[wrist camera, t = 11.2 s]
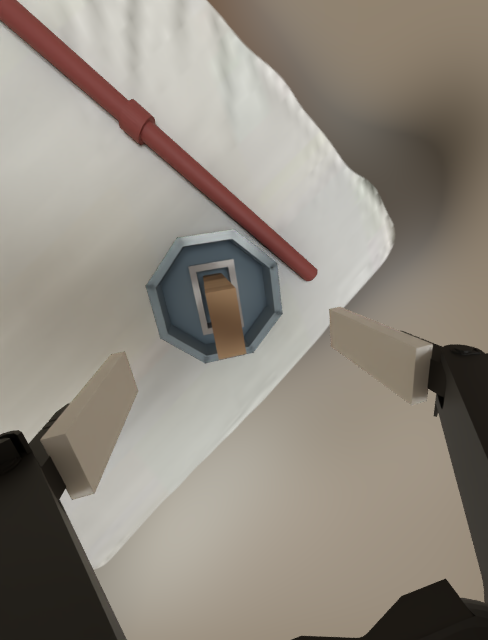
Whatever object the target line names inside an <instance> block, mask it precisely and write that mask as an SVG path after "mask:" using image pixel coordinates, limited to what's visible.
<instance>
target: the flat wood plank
mask: <svg viewBox="0 0 488 640" xmlns="http://www.w3.org/2000/svg"><path fill="white" fill-rule="evenodd" d="M203 281H204V288H205V295H206V300H207V305H208V310H209V314H210V319H211V324H212V329H213V334H214V339H215V343H216V348H217V353H218V358H219V360H220V359H225V358H229V357H234V356H238V355H243V354H246V348H245V342H244V336H243V330H242V324H241V318H240V312H239V306H238V300H237V293H236V288H235V287H234V286H233V285H232V284H231V283H230V282H229V281H228V280H227V278H226V277H225V276H224V275H223V274H222V273H216V274H210V275H205V276H203Z"/></svg>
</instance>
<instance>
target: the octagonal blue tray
mask: <svg viewBox="0 0 488 640" xmlns="http://www.w3.org/2000/svg"><path fill="white" fill-rule="evenodd" d="M216 273H222V274H223V275H224V276H225V277H226V278H227V280H228V281H229V282H230V283H231V284H232V285H233V286H234V287H235V288H236V293H237V300H238V306H239V312H240V318H241V324H242V330H243V336H244V342H245V348H246V354H249V353H254V351H255V350H256V348H257V347H258V346H259V344H260V343H261V342H262V340H263V339H264V338H265V336H266V335H267V334H268V332H269V331H270V330H271V328H272V327H273V326H274V324H275V323H276V321H277V320H278V319H279V317H280V316H281V315H282V305H281V296H280V286H279V277H278V268H277V263H276V262H275V261H274V260H272V259H271V258H270V257H269V256H267V255H266V254H265V253H264V252H262V251H261V250H260V249H259V248H257V247H256V246H255V245H253V244H252V243H251V242H250V241H248V240H247V239H246V238H245V237H243V236H242V235H241V234H240V233H238V232H237V231H236V230H235V229H232V230H225V231H219V232H212V233H206V234H199V235H192V236H186V237H179V238H178V237H177V238H176V240H175V242H174V243H173V245H172V246H171V248H170V249H169V251H168V252H167V254H166V256H165V257H164V259H163V260H162V262H161V263H160V265H159V266H158V268H157V270H156V271H155V273H154V274H153V276H152V277H151V279H150V280H149V282H148V284H147V285H146V289H147V292H148V296H149V299H150V303H151V306H152V310H153V313H154V317H155V321H156V324H157V328H158V331H159V335H160V338H161V339H163V340H164V341H166V342H168V343H170V344H172V345H173V346H175V347H177V348H179V349H181V350H182V351H184V352H186V353H188V354H190V355H191V356H193V357H195V358H197V359H199V360H200V361H202V362H204V363H209V362H213V361H218V360H219V358H218V353H217V348H216V343H215V339H214V334H213V329H212V324H211V319H210V314H209V310H208V305H207V300H206V295H205V288H204V281H203V276H205V275H210V274H216ZM243 355H245V354H243ZM238 356H240V355H238ZM234 357H236V356H234ZM229 358H231V357H229ZM225 359H227V358H225ZM220 360H222V359H220Z"/></svg>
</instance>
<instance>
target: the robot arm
mask: <svg viewBox="0 0 488 640" xmlns="http://www.w3.org/2000/svg"><path fill="white" fill-rule="evenodd" d="M329 313H330V338H331V347H332V348H334V349H335V350H336V351H338V352H339V353H340V354H342V355H343V356H345V357H346V358H347V359H349V360H350V361H352V362H353V363H354V364H356V365H357V366H358V367H360V368H361V369H363V370H364V371H365V372H367V373H368V374H369V375H371V376H372V377H374V378H375V379H376V380H378V381H379V382H380V383H382V384H383V385H384V386H386V387H387V388H389V389H390V390H391V391H393V392H394V393H395V394H397V395H398V396H400V397H401V398H402V399H404V400H405V401H406V402H408V403H409V404H411V405H414V404H418V403H421V402H424V401H427V394H428V389H430V390H431V391H433V392H435V393H436V401H435V410H434V416H436V417H437V414H438V413H439V416H440V420H441V424H442V428H443V431H444V435H445V439H446V443H447V446H448V451H449V454H450V458H451V462H452V466H453V469H454V473H455V477H456V481H457V484H458V488H459V492H460V496H461V499H462V503H463V507H464V511H465V514H466V518H467V522H468V525H469V530H470V533H471V537H472V541H473V545H474V548H475V552H476V556H477V559H478V563H479V567H480V571H481V574H482V580H483V586H484V601H485V603H484V602H480V601H477V600H471V599H466V598H460V597H459V596H458V594H457V593H456V592H455V590H454V589H453V588H452V586H451V585H450V584H449V582H448V581H447V580H446V579H444V580H441V581H439V582H436V583H434V584H431V585H428V586H426V587H423V588H421V589H418V590H416V591H413V592H411V593H408V594H406V595H403V596H401V597H400V598H399V600H398V601H397V602H396V603H395V604H394V605H393V606H392V607H391V608H390V609H389V610H388V611H387V613H386V614H385V615H384V616H383V617H382V618H381V619H380V620H379V621H378V622H377V623H376V624H375V626H374V627H373V628H372V629H371V630H370V631H369V632H368V633H367V634H366V635H365V636H363V637H360V638H342V637H341V638H340V637H316V636H300V637H297V638H295V639H292V640H488V353H487V354H485V353H484V352H482V351H481V350H479V349H477V348H474V347H470V346H466V345H446V346H444V347H442V346H439V345H436V344H434V343H431V342H429V341H426V340H424V339H420V338H419V337H416V336H412V335H411V334H409V333H406V332H404V331H399V330H396V329H394V328H391V327H389V326H386V325H384V324H381V323H379V322H376V321H374V320H371V319H369V318H366V317H364V316H361V315H359V314H356V313H354V312H351V311H349V310H346V309H344V308H341V307H337V308H332V309H329ZM137 392H138V389H137V386H136V383H135V380H134V377H133V374H132V371H131V368H130V365H129V362H128V359H127V357H126V354H125V352H120V353H115V354H111V355H110V356H109V358H108V359H107V360H106V361H105V362H104V364H103V365H102V366H101V367H100V368H99V370H98V371H97V372H96V373H95V374H94V376H93V377H92V378H91V379H90V380H89V382H88V383H87V384H86V385H85V386H84V388H83V389H82V390H81V391H80V392H79V394H78V395H77V396H76V397H75V398H74V400H73V401H72V402H71V403H69V404H67V405H65V406H64V407H63V408H61V409H60V410H59V411H57V412H56V413H55V414H54V415H53V417H52V418H51V419H50V420H49V422H48V423H46V425H45V426H44V427H43V428H42V430H40V431H39V433H38V434H37V435H36V436H35V437H34V438H33V439H32V441H31V442H30V443H29V444H28V442H27V441H26V439H25V437H24V435H23V433H22V432H20V431H19V430H17V431H10V432H6V433H3V434H0V640H127V639H126V637H125V635H124V633H123V631H122V629H121V627H120V625H119V623H118V621H117V619H116V617H115V614H114V612H113V610H112V608H111V606H110V604H109V602H108V600H107V598H106V595H105V593H104V591H103V589H102V587H101V585H100V583H99V581H98V579H97V577H96V574H95V572H94V570H93V568H92V566H91V564H90V562H89V560H88V558H87V556H86V553H85V551H84V549H83V547H82V545H81V543H80V541H79V539H78V537H77V535H76V532H75V530H74V528H73V526H72V524H71V522H70V520H69V518H68V516H67V514H66V512H65V509H64V507H63V505H62V504H61V502H60V500H59V499H60V497H61V495H62V494H63V492H64V490H65V488H66V490H67V492H68V493H69V495H70V497H71V499H72V500H73V499H77V498H80V497H84V496H88V495H91V494H94V493H95V491H96V489H97V486H98V484H99V482H100V479H101V477H102V475H103V472H104V470H105V468H106V465H107V463H108V460H109V458H110V456H111V453H112V451H113V449H114V446H115V444H116V442H117V439H118V437H119V435H120V432H121V430H122V428H123V425H124V423H125V421H126V418H127V416H128V414H129V411H130V409H131V406H132V404H133V402H134V399H135V397H136V395H137Z"/></svg>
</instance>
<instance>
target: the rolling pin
mask: <svg viewBox="0 0 488 640" xmlns="http://www.w3.org/2000/svg"><path fill="white" fill-rule="evenodd" d="M0 20H1V21H2V22H3V23H5V24H6V25H7V26H8V27H9V28H10V29H12V30H13V31H14V32H15V33H16V34H17V35H19V36H20V37H21V38H22V39H23V40H24V41H26V42H27V43H28V44H29V45H30V46H32V47H33V48H34V49H35V50H36V51H37V52H39V53H40V54H41V55H42V56H43V57H44V58H46V59H47V60H48V61H49V62H50V63H51V64H53V65H54V66H55V67H56V68H57V69H58V70H60V71H61V72H62V73H63V74H64V75H65V76H67V77H68V78H69V79H70V80H71V81H73V82H74V83H75V84H76V85H77V86H78V87H80V88H81V89H82V90H83V91H84V92H85V93H87V94H88V95H89V96H90V97H91V98H92V99H94V100H95V101H96V102H97V103H98V104H99V105H101V106H102V107H103V108H104V109H105V110H106V111H108V112H109V113H110V114H111V115H112V116H113V117H115V118H116V119H117V120H118V121H119V125H120V128H121V129H122V130H123V131H125V132H126V133H127V134H128V135H129V136H130V137H132V138H133V139H134V140H135V141H136V142H138V143H139V144H140V145H143V144H144V143H145V144H146V145H147V146H149V147H150V148H151V149H152V150H153V151H154V152H156V153H157V154H158V155H159V156H160V157H161V158H163V159H164V160H165V161H166V162H167V163H169V164H170V165H171V166H172V167H173V168H174V169H176V170H177V171H178V172H179V173H180V174H181V175H183V176H184V177H185V178H186V179H187V180H188V181H190V182H191V183H192V184H193V185H194V186H195V187H197V188H198V189H199V190H200V191H201V192H202V193H204V194H205V195H206V196H207V197H208V198H209V199H211V200H212V201H213V202H214V203H215V204H216V205H218V206H219V207H220V208H221V209H222V210H224V211H225V212H226V213H227V214H228V215H229V216H231V217H232V218H233V219H234V220H235V221H236V222H238V223H239V224H240V225H241V226H242V227H243V228H245V229H246V230H247V231H248V232H249V233H250V234H252V235H253V236H254V237H255V238H256V239H257V240H259V241H260V242H261V243H262V244H263V245H264V246H266V247H267V248H268V249H269V250H270V251H272V252H273V253H274V254H275V255H276V256H277V257H279V258H280V259H281V260H282V261H283V262H284V263H286V264H287V265H288V266H289V267H290V268H291V269H293V270H294V271H295V272H296V273H297V274H298V275H300V276H301V277H302V278H303V279H304V280H305V281H311V280H313V279H314V278H315V276H316V275H317V269H316V268H315V267H314V266H313V265H312V264H311V263H309V262H308V261H307V260H306V259H305V258H304V257H303V256H302V255H301V254H299V253H298V252H297V251H296V250H295V249H294V248H293V247H292V246H290V245H289V244H288V243H287V242H286V241H285V240H284V239H283V238H282V237H280V236H279V235H278V234H277V233H276V232H275V231H274V230H273V229H271V228H270V227H269V226H268V225H267V224H266V223H265V222H264V221H263V220H261V219H260V218H259V217H258V216H257V215H256V214H255V213H254V212H252V211H251V210H250V209H249V208H248V207H247V206H246V205H245V204H244V203H242V202H241V201H240V200H239V199H238V198H237V197H236V196H235V195H233V194H232V193H231V192H230V191H229V190H228V189H227V188H226V187H225V186H223V185H222V184H221V183H220V182H219V181H218V180H217V179H216V178H214V177H213V176H212V175H211V174H210V173H209V172H208V171H207V170H206V169H204V168H203V167H202V166H201V165H200V164H199V163H198V162H197V161H195V160H194V159H193V158H192V157H191V156H190V155H189V154H188V153H187V152H185V151H184V150H183V149H182V148H181V147H180V146H179V145H178V144H176V143H175V142H174V141H173V140H172V139H171V138H170V137H169V136H168V135H166V134H165V133H164V132H163V131H162V130H161V129H160V128H159V127H157V126H156V125H155V119H154V117H153V116H152V115H151V114H150V113H148V112H147V111H146V110H145V109H144V108H143V107H142V106H141V105H140V104H138V103H137V102H136V101H135V100H134V99H131V100H129V101H128V100H127V99H126V98H125V97H124V96H123V95H122V94H121V93H119V92H118V91H117V90H116V89H115V88H114V87H113V86H112V85H111V84H109V83H108V82H107V81H106V80H105V79H104V78H103V77H102V76H100V75H99V74H98V73H97V72H96V71H95V70H94V69H93V68H92V67H90V66H89V65H88V64H87V63H86V62H85V61H84V60H83V59H81V58H80V57H79V56H78V55H77V54H76V53H75V52H74V51H73V50H71V49H70V48H69V47H68V46H67V45H66V44H65V43H64V42H62V41H61V40H60V39H59V38H58V37H57V36H56V35H55V34H54V33H52V32H51V31H50V30H49V29H48V28H47V27H46V26H45V25H43V24H42V23H41V22H40V21H39V20H38V19H37V18H36V17H35V16H33V15H32V14H31V13H30V12H29V11H28V10H27V9H26V8H24V7H23V6H22V5H21V4H20V3H19V2H18V1H17V0H0Z"/></svg>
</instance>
